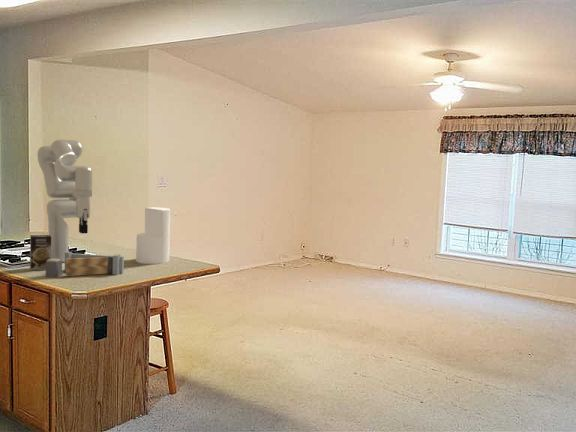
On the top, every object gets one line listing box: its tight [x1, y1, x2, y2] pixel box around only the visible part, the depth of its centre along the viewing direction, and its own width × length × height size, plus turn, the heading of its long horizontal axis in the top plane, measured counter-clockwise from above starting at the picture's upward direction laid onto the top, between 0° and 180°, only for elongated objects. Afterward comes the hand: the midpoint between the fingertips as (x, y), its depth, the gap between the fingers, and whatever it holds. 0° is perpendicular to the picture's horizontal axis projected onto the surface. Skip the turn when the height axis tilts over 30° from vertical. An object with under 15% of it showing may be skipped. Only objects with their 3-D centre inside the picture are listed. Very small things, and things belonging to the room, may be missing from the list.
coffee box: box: [29, 234, 51, 271], centre depth 264 cm, size 9×6×16 cm
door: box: [65, 255, 113, 276], centre depth 257 cm, size 20×2×8 cm, turn 115°
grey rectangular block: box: [45, 258, 63, 278], centre depth 251 cm, size 5×5×8 cm
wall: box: [64, 251, 125, 276], centre depth 262 cm, size 28×4×9 cm, turn 85°
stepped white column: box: [135, 206, 171, 265], centre depth 295 cm, size 17×17×28 cm
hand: (83, 232), depth 259 cm, fingers closed
